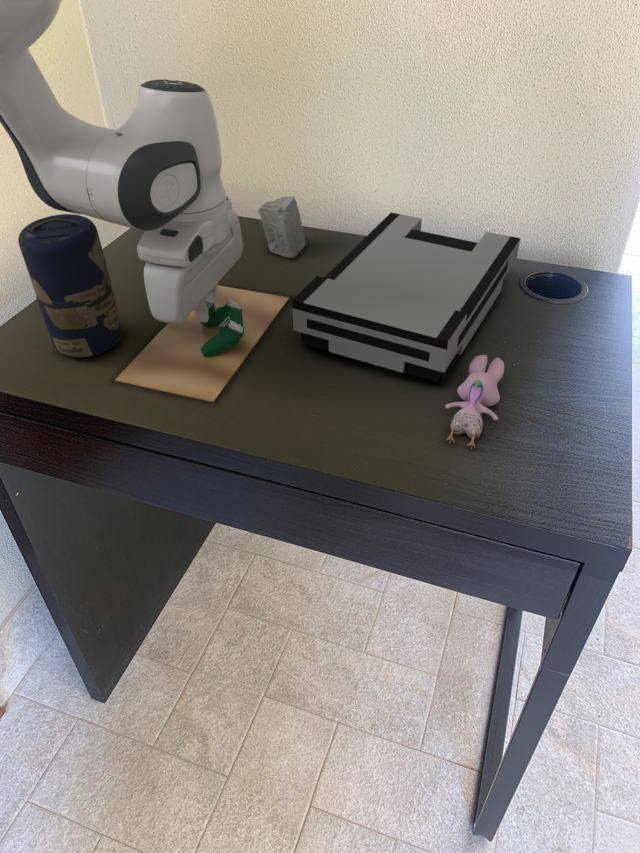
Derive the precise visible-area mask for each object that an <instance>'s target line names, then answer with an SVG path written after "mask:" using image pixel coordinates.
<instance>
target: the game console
mask: <svg viewBox="0 0 640 853" xmlns="http://www.w3.org/2000/svg"><path fill="white" fill-rule="evenodd" d="M422 220H423V219H422V218H421V217H416V216H411V215H406V214H401V213H396V212H390V213H388V215H386V216H385V217H384V218H383V220H382V221H380V222H379V223H378V224H377V225H376V226H375V227H374V228H373V229H372V230H371V231H370V232H369V233H368V234H367V235H366V236H365V237H363V239H362V240H361V241H360V242H359V243H357V245H356V246H355V247H353V249H352V250H350V252H348V254H347V255H346V256H344V257H343V258H342V260H340V261H339V262H338V263H337V264H336V265H335V266H334V267H333V268H332V269H331V270H330V271H329V272H328V273H327V274H326V275H325V276H324V277H323V276H320V275H317V276H315V277H314V279H312V280H311V281H310V282H309V283H308V284H307V285H306V286H305V287H303V289H302V290H301V291H300V292H298V294H296V295H295V296H294V297H293V298H292V299H291V306H292V307H291V308H292V328H293V331H295V332H298V333H300V343H303V344H305V345H308V346H307V347H310V348H313V349H317V350H320V351H324V352H328V353H331V354H334V355H338V356H341V357H345V358H350V359H352V360H353V359H354V360H357V361H359V362H364V363H368V364H370V365H374V366H376V367H377V366H378V367H381V368H384V369H388V370H392V371H395V372H397V373H400V374H404V375H405V376H406V375H407V376H409V377H414V378H416V379H421V380H424V381H427V382H431V383H434V384H438V385H442V384H443V383H444V382H445V380H446V378H447V376H448V375H449V373H450V371H451V370H452V368H453V367H454V365H455V364H456V362H457V360H458V359H459V357H460V356H461V355H462V354H463V352H464V351H465V349H466V348H467V346H468V345H469V343H470V342H471V339H472V338H473V336H474V335H475V333H476V332H477V330H478V328H479V327H480V325H481V323H482V322H483V320H484V319H485V317H486V316H487V315H488V312H489V311H490V309H491V308H492V306H493V305H494V303H495V301H496V300H497V299H498V296H499V295H500V294H501V292H502V288H503V283H504V280H505V278H506V276H507V275H508V273H509V272H510V270H511V269H512V267H513V266H514V263H516V261H517V259H518V254H519V249H520V244H521V243H520V242H521V238H520V237H516V236H511V235H506V234H500V233H496V232H490V231H485V233H484V234H483V235H482V237H481V238H480V239H479V241H478V242H476V241H471V240H467V239H462V238H457V237H451V236H448V235H447V236H446V235H441V234H437V233H433V232H427V231H422Z"/></svg>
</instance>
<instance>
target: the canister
mask: <svg viewBox="0 0 640 853" xmlns="http://www.w3.org/2000/svg"><path fill="white" fill-rule="evenodd" d="M100 238H101V237H100V235H99V231H98V228H97V226H96V225H95V223H94V222H93V221H92V220H91V219H89V218H88V217H86V216H82V215H81V214H74V213H72V214H71V213H64V214H63V213H62V214H54V215H49V216H45V217H42V218H39V219H37V220H34V221H32V222H30V223H29V224H27V225H26V226H24V227H23V228H22V230H21V231H20V232H19V234H18V238H17V240H18V241H17V243H18V246H19V250H20V252H21V255H22V257H23V261H24V263H25V267H26V269H27V273H28V275H29V278H30V282H31V284H32V287H33V290H34V294H35V298H36V301H37V304H38V307H39V310H40V312H41V315H42V318H43V321H44V324H45V326H46V329H47V332H48V335H49V338H50V341H51V344H52V346H53V347H54V349H55V350H56V351H58V352H59V353H60V354H62V355H64V356H67V357H71V358H88V357H89V358H90V357H95V356H97V355H101V354H103V353H105V352H108V351H109V350H110V349H112V348H113V347H115V345H117V344H118V342H119V341H120V339H121V337H122V335H123V334H122V333H123V327H122V323H121V319H120V314H119V311H118V307H117V302H116V299H115V295H114V291H113V287H112V283H111V282H112V281H111V277H110V272H109V270H108V265H107V261H106V257H105V254H104V250H103V247H102V242H101V239H100Z"/></svg>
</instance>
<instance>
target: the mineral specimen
mask: <svg viewBox="0 0 640 853" xmlns="http://www.w3.org/2000/svg"><path fill="white" fill-rule="evenodd" d="M297 202H298V201H297V200H296V198H295V196H294V195H293V196H282V197H280V198H276V199H275V200H269V201H265V202H264V203H263V204H262V205H261V207H259V208H258V213H259V216H260V220H261V221H260V222H261V224H262V228H263V231H264V234H265V238H266V240H267V241H266V242H267V245H268V249H269V252H270V253H272V254H275V255H279V256H281V257H283V258H285V259H286V258H287V259H291V260H293V259H295V258H297V256H298V255H299V253H301V251H302V250H303V249H304V248H305V246H306V238H305V233H304V228H303V224H302V218H301V213H300V210H299V207H298V203H297Z"/></svg>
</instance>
